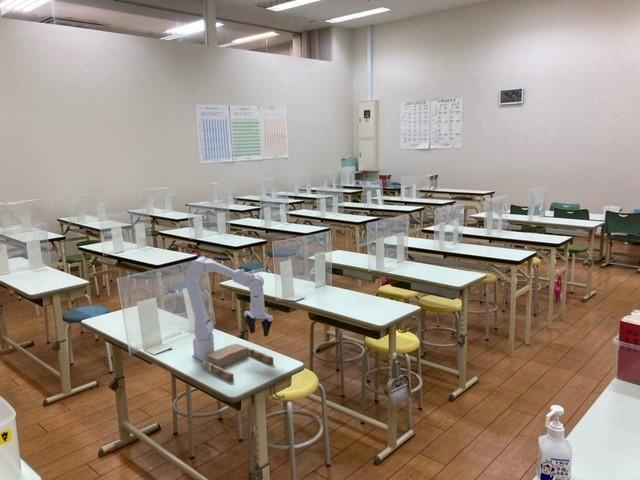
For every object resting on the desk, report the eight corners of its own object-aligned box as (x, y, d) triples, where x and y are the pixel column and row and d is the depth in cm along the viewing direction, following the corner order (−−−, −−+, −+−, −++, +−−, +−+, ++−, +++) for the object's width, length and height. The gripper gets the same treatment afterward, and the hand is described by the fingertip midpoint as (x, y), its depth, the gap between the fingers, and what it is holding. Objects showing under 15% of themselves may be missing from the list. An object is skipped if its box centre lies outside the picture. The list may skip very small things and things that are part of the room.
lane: (203, 367, 208) (202, 360, 207) (244, 351, 223) (244, 345, 222) (231, 382, 194) (230, 374, 194) (273, 364, 209) (273, 357, 209)
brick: (205, 354, 210) (206, 364, 211) (217, 359, 205) (217, 370, 206) (236, 341, 222) (236, 351, 223) (248, 346, 217) (248, 356, 218)
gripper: (238, 304, 213) (240, 334, 216) (264, 309, 205) (266, 340, 208) (249, 299, 219) (251, 329, 221) (275, 304, 211) (276, 334, 214)
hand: (259, 334), depth 215 cm, fingers open, 7 cm apart
